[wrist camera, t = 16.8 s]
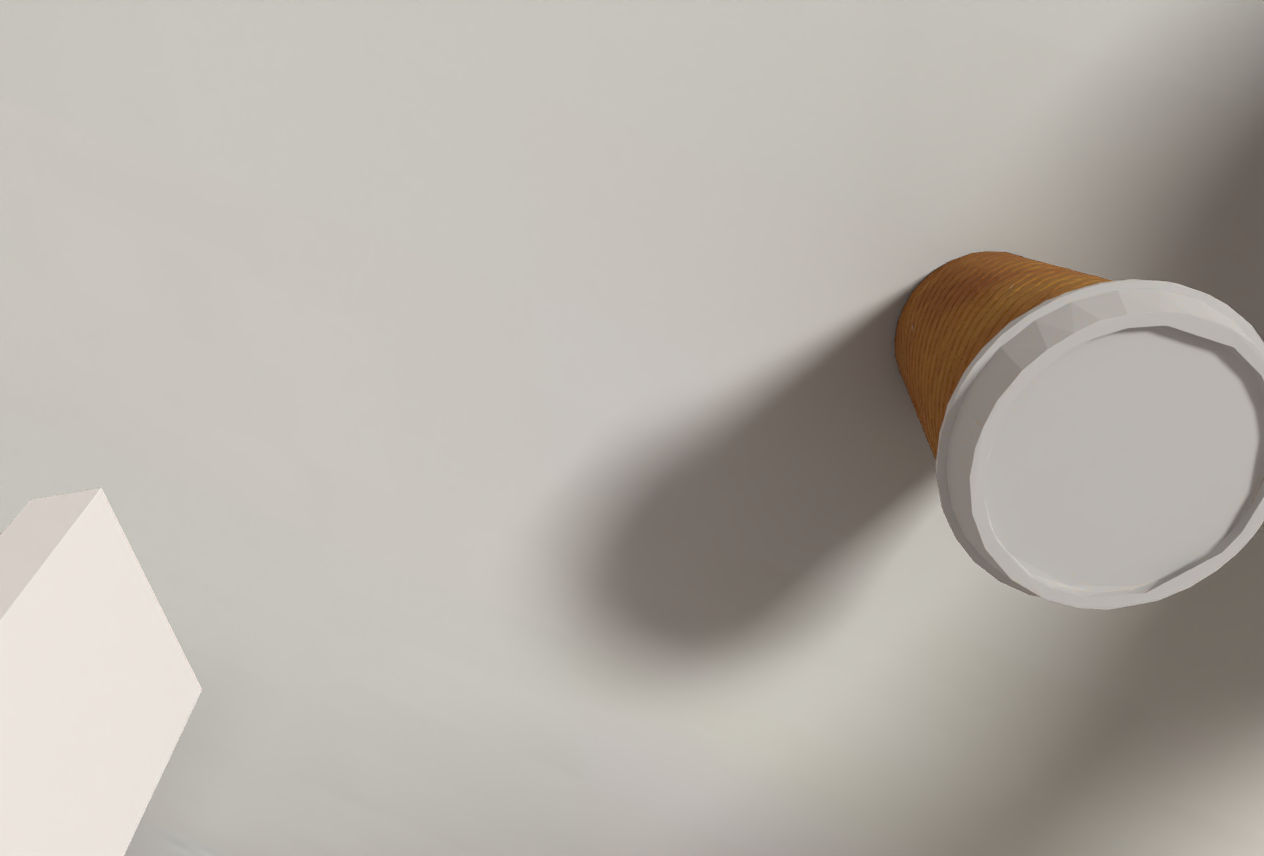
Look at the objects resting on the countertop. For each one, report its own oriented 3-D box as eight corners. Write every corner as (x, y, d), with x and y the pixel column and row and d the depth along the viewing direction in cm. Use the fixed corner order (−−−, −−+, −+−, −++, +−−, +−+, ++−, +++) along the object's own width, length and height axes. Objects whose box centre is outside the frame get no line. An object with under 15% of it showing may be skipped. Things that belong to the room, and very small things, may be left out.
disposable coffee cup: (847, 463, 42) (941, 635, 31) (853, 212, 39) (963, 303, 27) (1095, 449, 42) (1278, 614, 31) (1125, 197, 39) (1344, 281, 28)
